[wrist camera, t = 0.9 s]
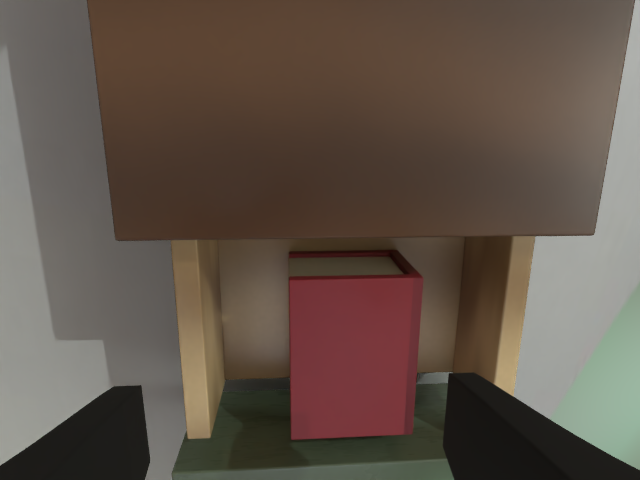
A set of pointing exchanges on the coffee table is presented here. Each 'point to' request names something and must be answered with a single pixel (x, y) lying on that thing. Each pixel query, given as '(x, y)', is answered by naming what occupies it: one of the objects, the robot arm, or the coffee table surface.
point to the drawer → (274, 353)
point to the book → (353, 343)
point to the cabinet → (356, 116)
